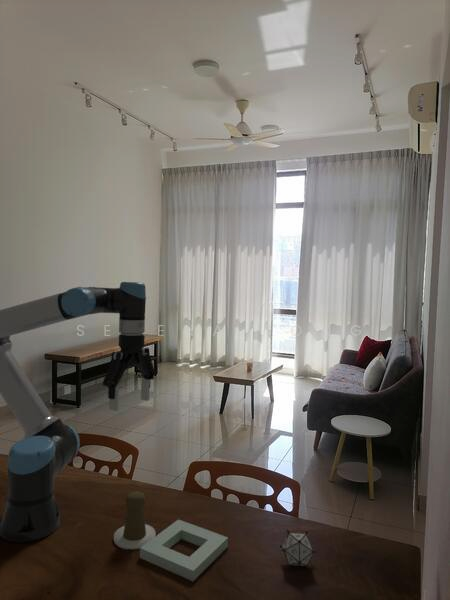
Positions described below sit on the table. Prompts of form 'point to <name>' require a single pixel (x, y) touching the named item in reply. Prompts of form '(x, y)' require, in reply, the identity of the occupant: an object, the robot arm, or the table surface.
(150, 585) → the table surface
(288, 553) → the game die
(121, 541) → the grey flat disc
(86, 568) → the table surface
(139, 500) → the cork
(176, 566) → the frame
